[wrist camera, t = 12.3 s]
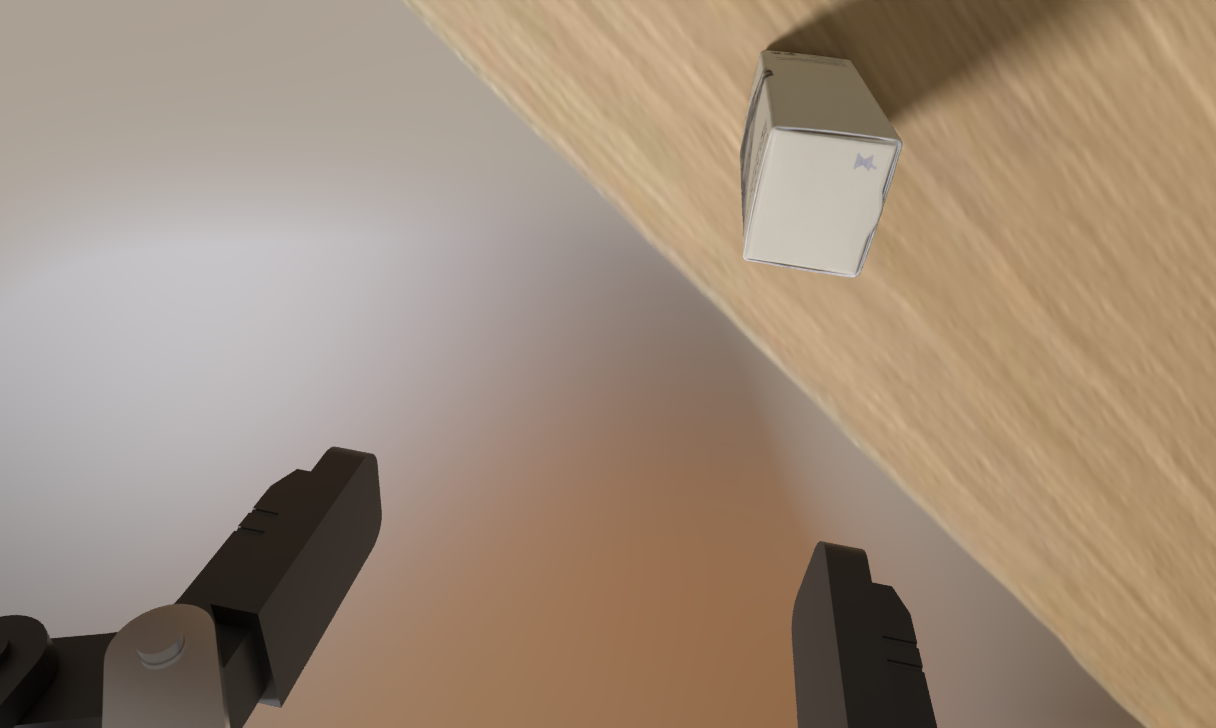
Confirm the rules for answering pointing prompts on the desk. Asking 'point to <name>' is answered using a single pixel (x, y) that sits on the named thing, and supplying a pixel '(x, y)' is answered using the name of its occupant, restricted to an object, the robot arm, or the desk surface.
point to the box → (813, 164)
